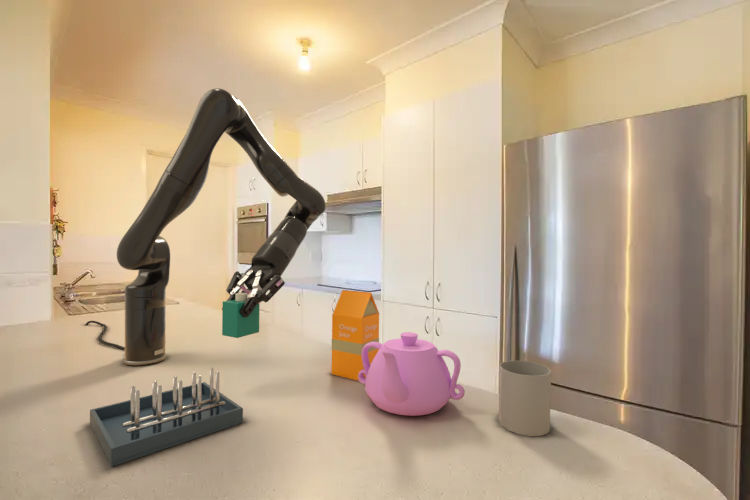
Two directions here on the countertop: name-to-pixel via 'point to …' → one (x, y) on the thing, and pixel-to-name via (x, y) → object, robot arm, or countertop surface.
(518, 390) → the cup
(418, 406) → the teapot
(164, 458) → the countertop surface
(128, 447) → the drip tray
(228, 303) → the detergent bottle
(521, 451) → the countertop surface
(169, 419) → the dish rack
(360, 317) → the orange juice
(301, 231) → the robot arm
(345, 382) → the countertop surface
